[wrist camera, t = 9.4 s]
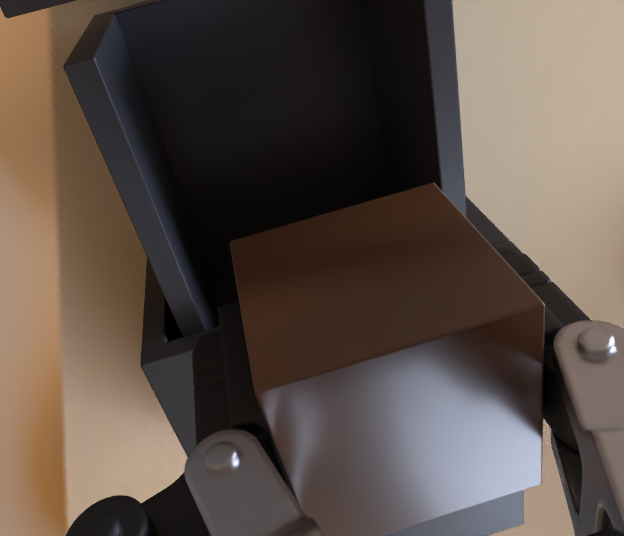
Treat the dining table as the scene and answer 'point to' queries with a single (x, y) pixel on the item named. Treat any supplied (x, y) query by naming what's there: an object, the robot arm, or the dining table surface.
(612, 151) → the dining table surface
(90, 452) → the dining table surface
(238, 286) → the block
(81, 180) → the dining table surface
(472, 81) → the dining table surface
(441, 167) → the drawer
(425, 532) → the cabinet
